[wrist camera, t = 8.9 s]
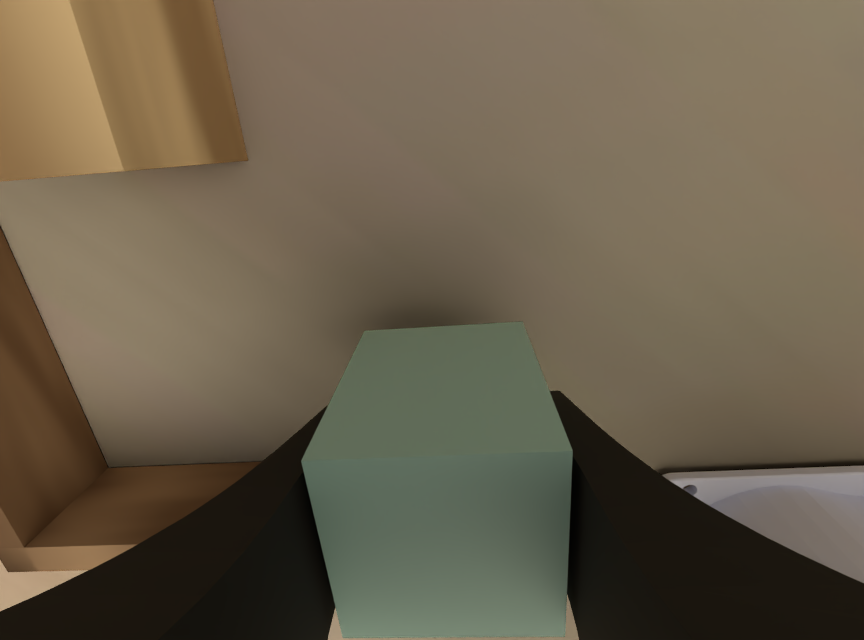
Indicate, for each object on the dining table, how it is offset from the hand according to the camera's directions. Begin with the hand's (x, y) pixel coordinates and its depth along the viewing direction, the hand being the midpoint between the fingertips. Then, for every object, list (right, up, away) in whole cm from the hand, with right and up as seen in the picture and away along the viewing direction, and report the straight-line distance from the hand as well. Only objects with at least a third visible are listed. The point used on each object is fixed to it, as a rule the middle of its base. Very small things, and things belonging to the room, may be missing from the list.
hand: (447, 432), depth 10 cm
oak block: (-8, +9, +1) cm, 12 cm away
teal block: (0, +1, +1) cm, 2 cm away
